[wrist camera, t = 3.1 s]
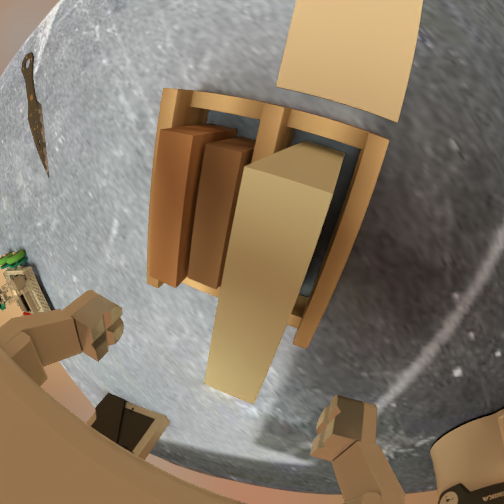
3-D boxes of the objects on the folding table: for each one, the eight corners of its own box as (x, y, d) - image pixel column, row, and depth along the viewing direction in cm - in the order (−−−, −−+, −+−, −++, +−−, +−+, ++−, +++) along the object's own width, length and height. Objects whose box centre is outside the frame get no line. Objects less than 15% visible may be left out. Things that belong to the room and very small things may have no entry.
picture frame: (114, 400, 53) (61, 464, 36) (108, 392, 52) (53, 457, 35) (170, 421, 48) (115, 503, 30) (164, 413, 46) (106, 496, 29)
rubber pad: (425, -35, 10) (426, -38, 10) (396, 122, 18) (397, 122, 17) (314, -62, 12) (313, -65, 12) (277, 87, 19) (275, 86, 19)
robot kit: (-5, 253, 50) (-33, 270, 42) (31, 245, 40) (-9, 269, 32) (26, 320, 57) (1, 339, 49) (72, 334, 47) (41, 363, 39)
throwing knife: (36, 46, 24) (32, 46, 23) (58, 173, 31) (54, 174, 30) (22, 62, 26) (19, 62, 25) (44, 182, 33) (41, 183, 32)
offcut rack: (381, 136, 18) (389, 140, 14) (316, 312, 26) (306, 349, 22) (198, 91, 21) (163, 88, 17) (176, 258, 29) (147, 283, 25)
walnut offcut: (270, 143, 22) (242, 152, 16) (244, 254, 26) (216, 289, 21) (241, 136, 22) (205, 143, 17) (220, 245, 27) (187, 277, 22)
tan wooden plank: (344, 152, 20) (333, 193, 9) (301, 285, 26) (253, 404, 15) (305, 140, 21) (244, 166, 9) (269, 274, 26) (204, 383, 15)
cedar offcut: (237, 129, 22) (193, 135, 16) (215, 249, 27) (175, 287, 21) (210, 123, 22) (160, 129, 16) (193, 240, 28) (149, 276, 22)
